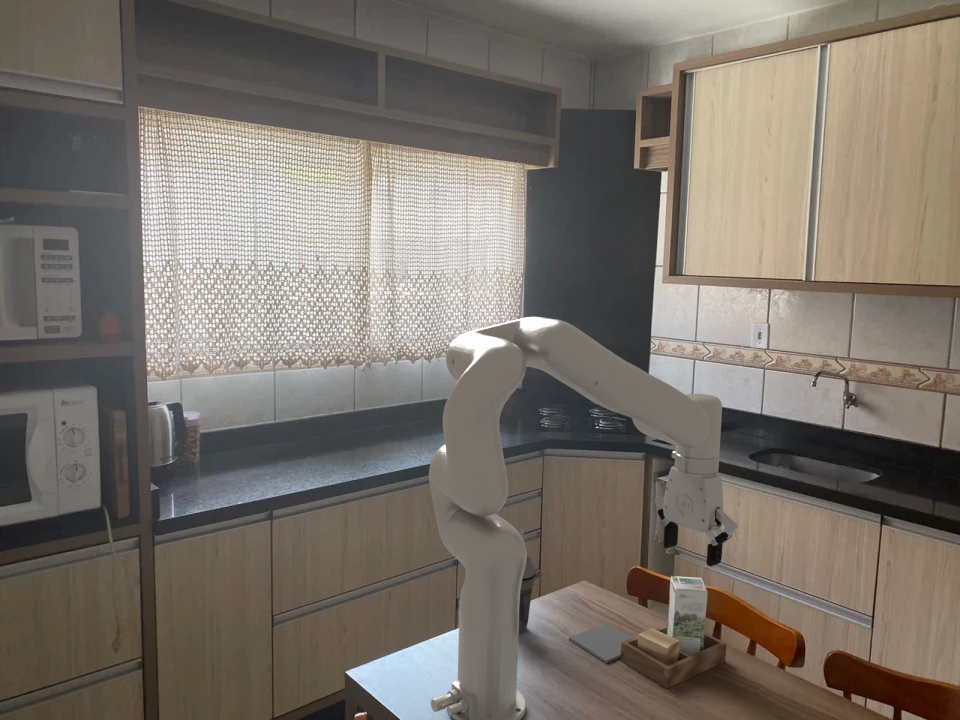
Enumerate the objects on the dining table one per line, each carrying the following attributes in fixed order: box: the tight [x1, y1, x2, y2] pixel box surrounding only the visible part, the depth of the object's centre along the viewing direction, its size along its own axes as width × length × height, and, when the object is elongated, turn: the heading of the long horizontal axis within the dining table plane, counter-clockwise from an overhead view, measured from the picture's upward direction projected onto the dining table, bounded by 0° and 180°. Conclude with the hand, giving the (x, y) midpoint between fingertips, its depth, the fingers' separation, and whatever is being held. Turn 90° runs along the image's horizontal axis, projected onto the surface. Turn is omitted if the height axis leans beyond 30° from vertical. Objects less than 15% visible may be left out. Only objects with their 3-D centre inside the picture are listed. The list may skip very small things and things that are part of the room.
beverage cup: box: [518, 529, 536, 635], centre depth 144 cm, size 7×7×20 cm
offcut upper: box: [637, 627, 680, 664], centre depth 132 cm, size 4×6×3 cm, turn 42°
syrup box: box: [666, 575, 709, 655], centre depth 136 cm, size 6×6×14 cm
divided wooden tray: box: [619, 623, 727, 689], centre depth 135 cm, size 16×11×4 cm
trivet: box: [568, 623, 632, 664], centre depth 141 cm, size 10×10×1 cm
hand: (691, 555), depth 135 cm, fingers open, 9 cm apart
